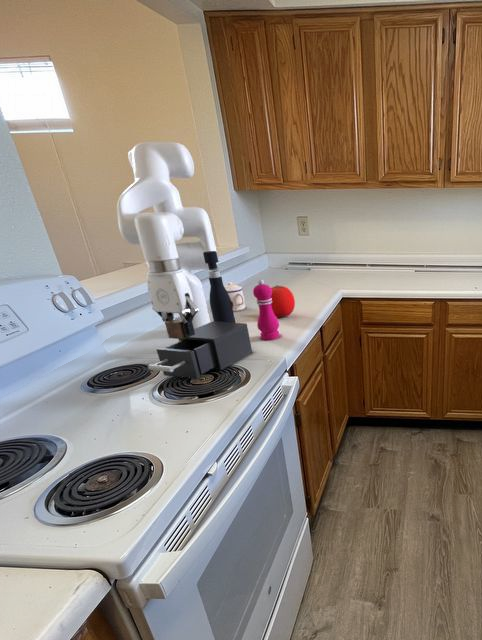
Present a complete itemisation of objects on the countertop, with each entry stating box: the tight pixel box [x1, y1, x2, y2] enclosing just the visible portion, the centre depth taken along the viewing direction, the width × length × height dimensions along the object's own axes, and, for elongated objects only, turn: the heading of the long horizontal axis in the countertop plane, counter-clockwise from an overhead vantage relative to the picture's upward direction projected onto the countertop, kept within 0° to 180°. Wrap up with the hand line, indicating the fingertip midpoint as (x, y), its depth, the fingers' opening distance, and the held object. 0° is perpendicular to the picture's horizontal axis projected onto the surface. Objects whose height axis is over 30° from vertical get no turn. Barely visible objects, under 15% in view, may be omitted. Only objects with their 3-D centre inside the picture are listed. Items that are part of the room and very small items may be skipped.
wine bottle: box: [203, 251, 236, 323], centre depth 134 cm, size 6×6×30 cm
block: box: [164, 316, 185, 340], centre depth 111 cm, size 4×4×4 cm
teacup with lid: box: [224, 281, 246, 312], centre depth 179 cm, size 12×9×12 cm
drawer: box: [147, 339, 218, 380], centre depth 115 cm, size 19×11×8 cm, turn 163°
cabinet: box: [178, 320, 253, 372], centre depth 125 cm, size 15×13×10 cm
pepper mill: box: [252, 279, 280, 341], centre depth 141 cm, size 7×7×20 cm
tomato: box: [270, 284, 296, 318], centre depth 167 cm, size 12×12×13 cm
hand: (182, 334), depth 112 cm, fingers closed on block, 4 cm apart
